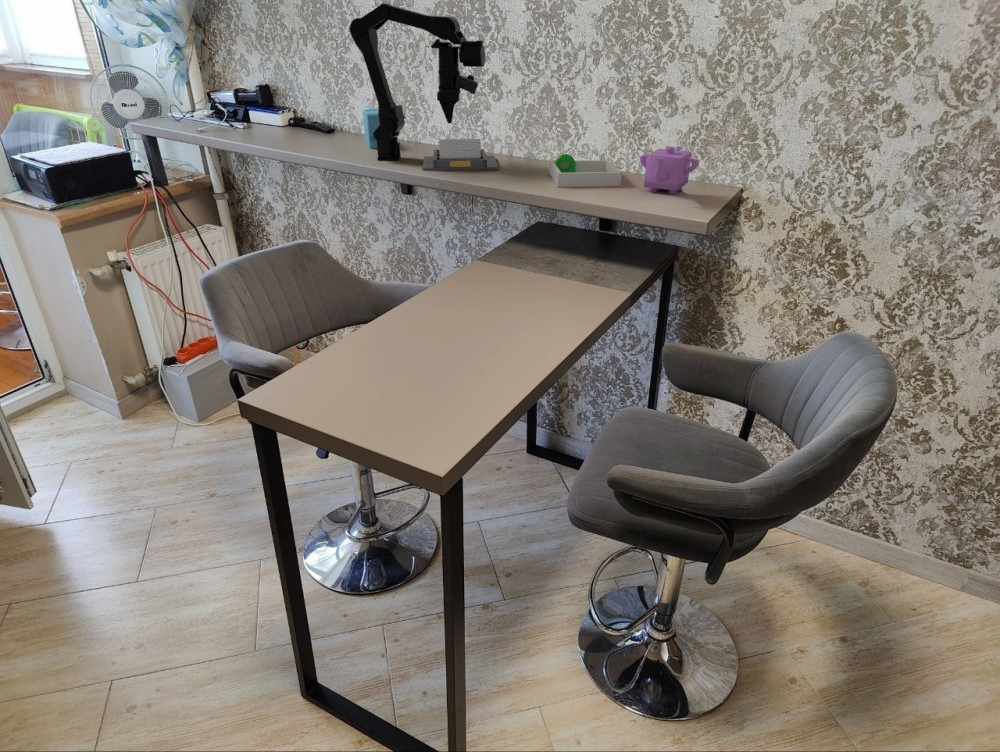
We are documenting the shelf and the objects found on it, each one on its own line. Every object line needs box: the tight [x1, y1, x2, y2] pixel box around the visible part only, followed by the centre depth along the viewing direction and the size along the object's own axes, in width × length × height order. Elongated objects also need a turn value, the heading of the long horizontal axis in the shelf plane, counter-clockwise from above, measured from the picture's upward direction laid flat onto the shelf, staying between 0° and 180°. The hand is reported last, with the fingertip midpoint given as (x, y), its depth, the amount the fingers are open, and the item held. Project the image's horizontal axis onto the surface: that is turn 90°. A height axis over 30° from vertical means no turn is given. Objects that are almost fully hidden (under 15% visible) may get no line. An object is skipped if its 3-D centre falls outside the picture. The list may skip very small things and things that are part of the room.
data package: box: [362, 108, 380, 150], centre depth 230 cm, size 12×4×12 cm, turn 17°
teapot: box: [639, 145, 700, 195], centre depth 177 cm, size 15×13×11 cm
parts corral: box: [548, 159, 623, 188], centre depth 190 cm, size 17×17×4 cm
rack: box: [421, 148, 499, 172], centre depth 208 cm, size 22×18×3 cm
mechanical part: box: [555, 153, 576, 173], centre depth 197 cm, size 12×6×8 cm, turn 91°
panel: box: [438, 138, 482, 160], centre depth 202 cm, size 12×3×7 cm, turn 94°
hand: (449, 123), depth 205 cm, fingers closed
